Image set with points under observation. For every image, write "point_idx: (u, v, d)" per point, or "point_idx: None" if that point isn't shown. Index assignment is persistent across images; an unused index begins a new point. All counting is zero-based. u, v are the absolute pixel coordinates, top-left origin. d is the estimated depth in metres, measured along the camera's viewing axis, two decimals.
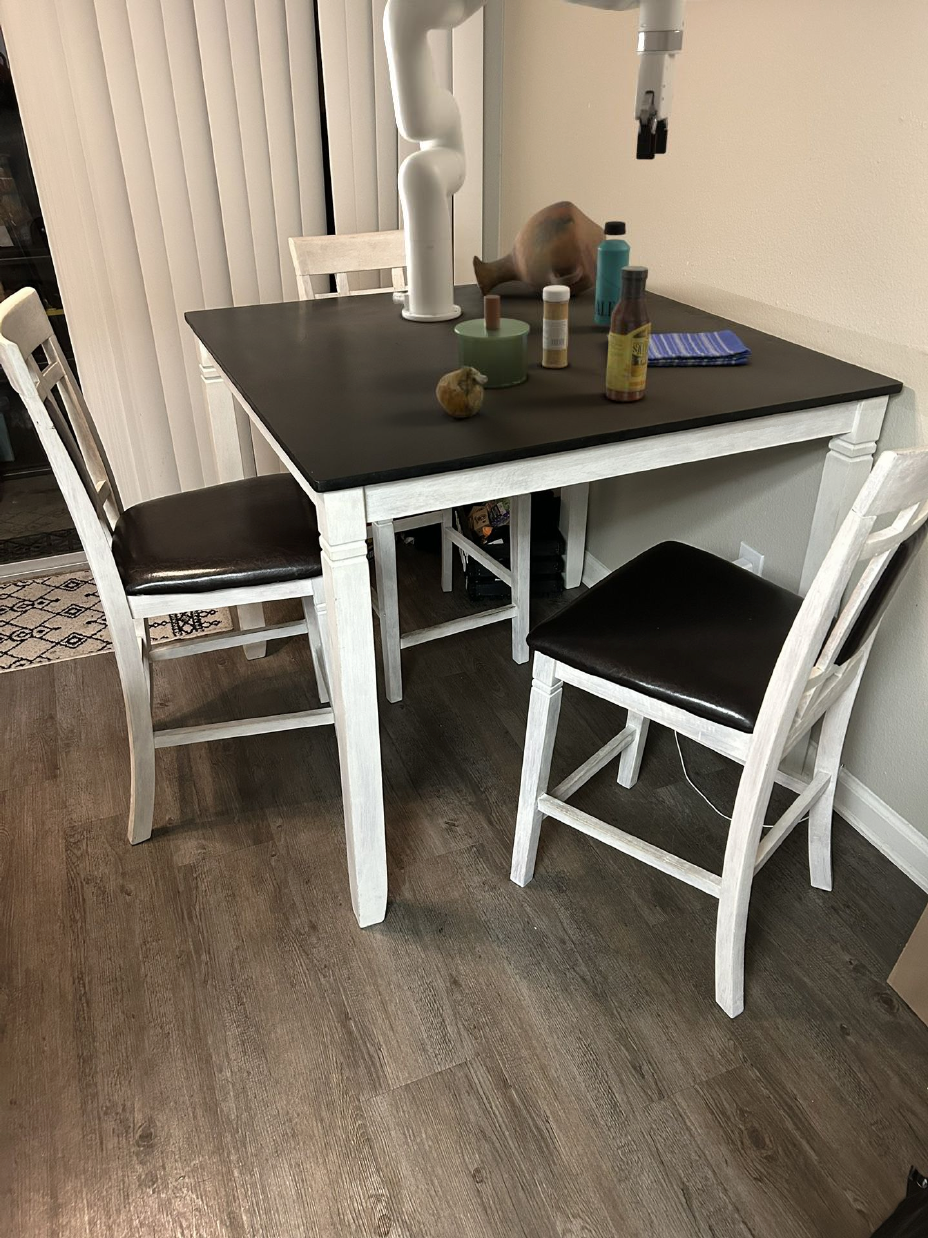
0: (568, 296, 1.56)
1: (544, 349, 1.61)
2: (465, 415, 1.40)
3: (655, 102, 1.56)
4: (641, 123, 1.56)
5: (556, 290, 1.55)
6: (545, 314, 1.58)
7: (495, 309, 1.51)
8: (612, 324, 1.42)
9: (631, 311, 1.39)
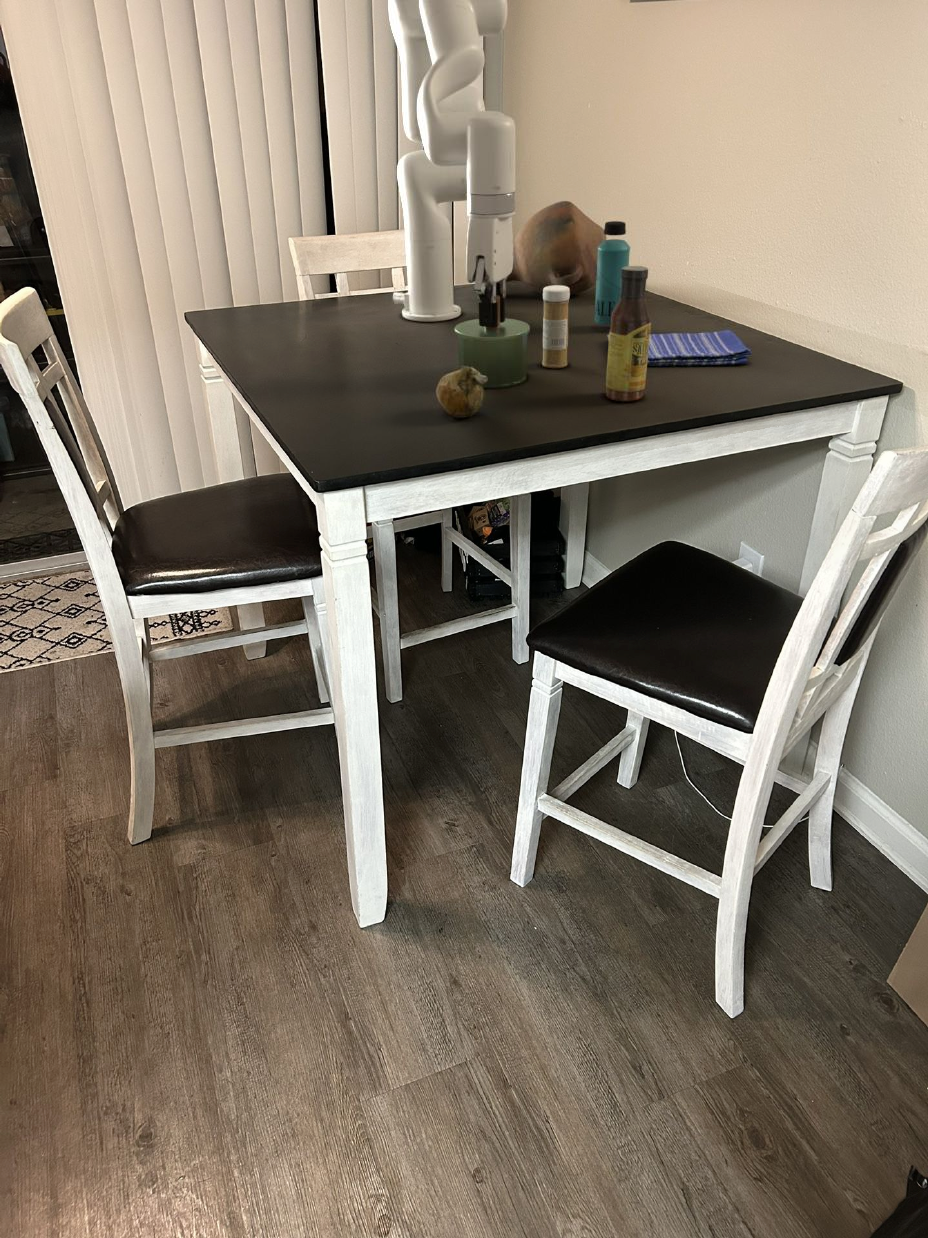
0: (568, 296, 1.56)
1: (544, 349, 1.61)
2: (465, 415, 1.40)
3: (486, 267, 1.44)
4: (479, 294, 1.47)
5: (556, 290, 1.55)
6: (545, 314, 1.58)
7: None
8: (612, 324, 1.42)
9: (631, 311, 1.39)
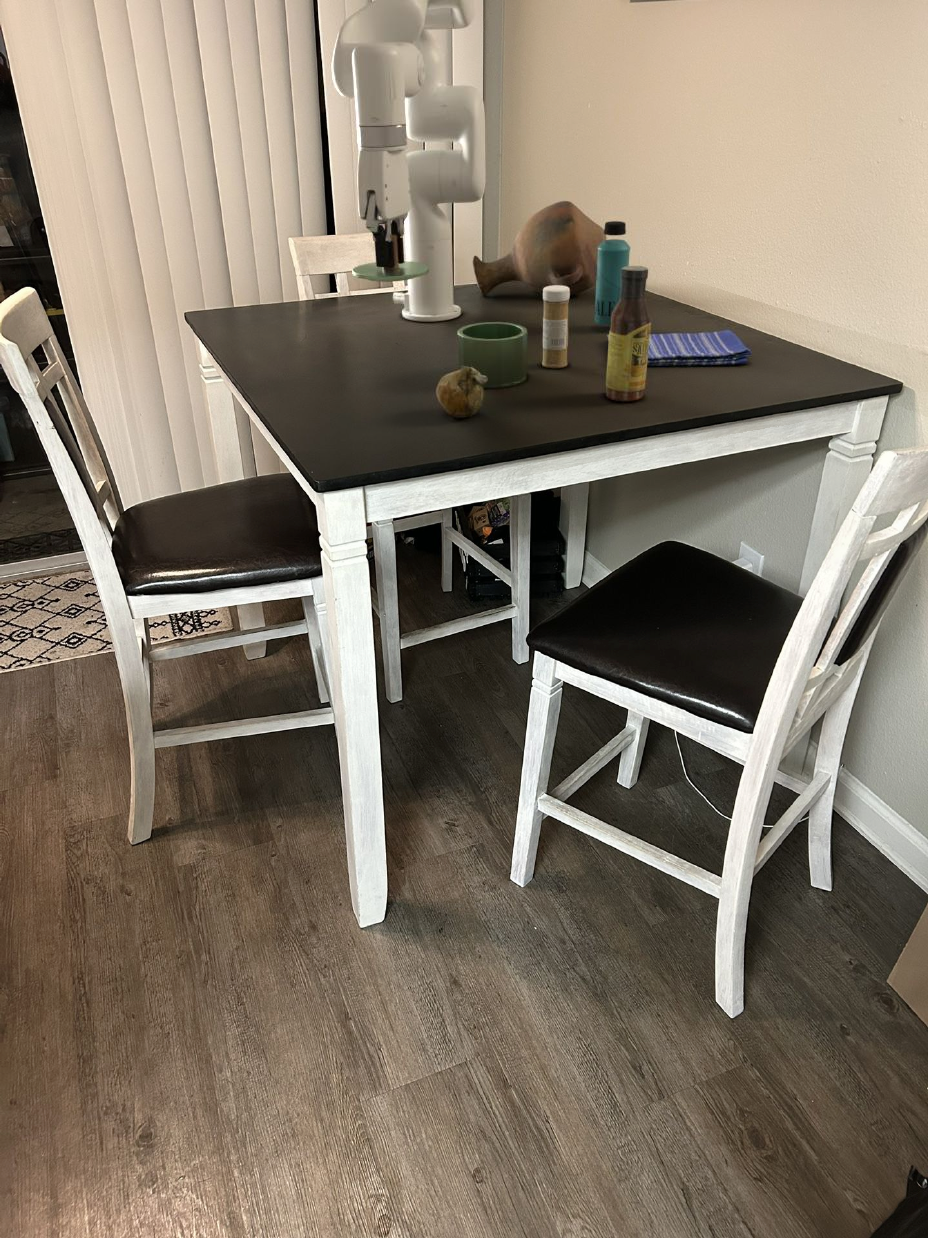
0: (568, 296, 1.56)
1: (544, 349, 1.61)
2: (465, 415, 1.40)
3: (378, 203, 1.40)
4: (372, 231, 1.44)
5: (556, 290, 1.55)
6: (545, 314, 1.58)
7: None
8: (612, 324, 1.42)
9: (631, 311, 1.39)
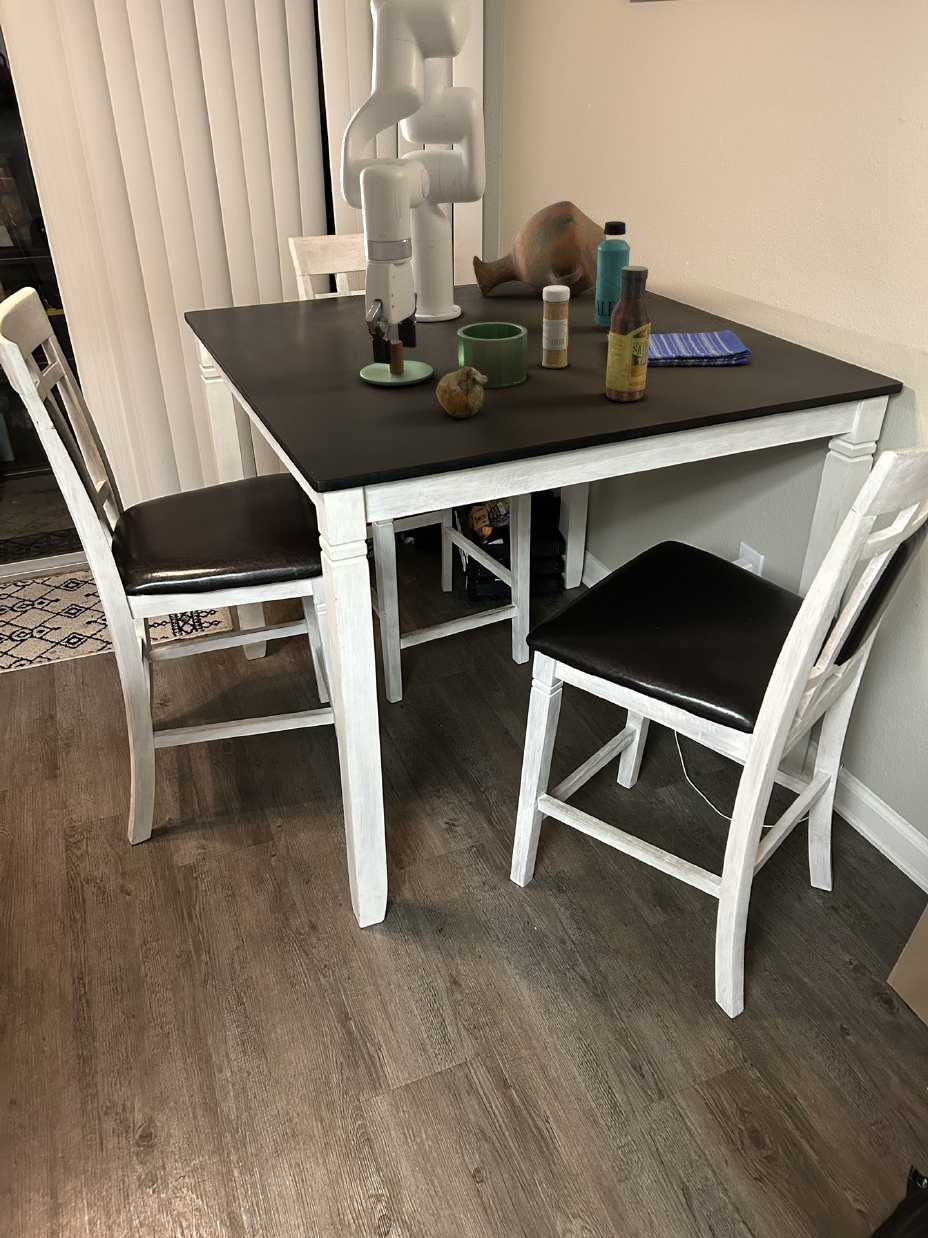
0: (568, 296, 1.56)
1: (544, 349, 1.61)
2: (465, 415, 1.40)
3: (384, 310, 1.49)
4: (370, 332, 1.49)
5: (556, 290, 1.55)
6: (545, 314, 1.58)
7: (397, 354, 1.57)
8: (612, 324, 1.42)
9: (631, 311, 1.39)
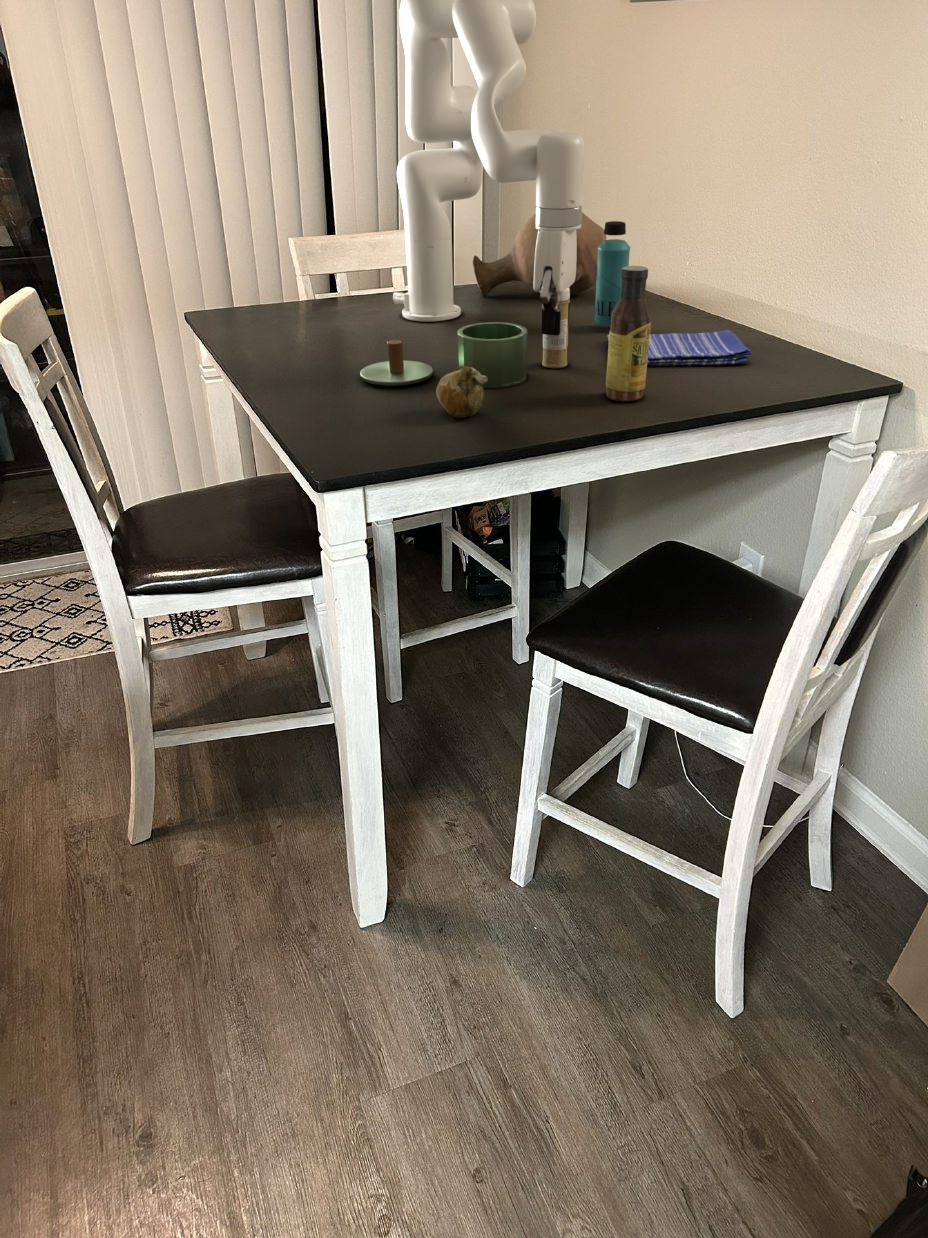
0: (568, 296, 1.56)
1: (544, 349, 1.61)
2: (465, 415, 1.40)
3: (554, 278, 1.51)
4: (543, 303, 1.53)
5: None
6: None
7: (397, 354, 1.57)
8: (612, 324, 1.42)
9: (631, 311, 1.39)
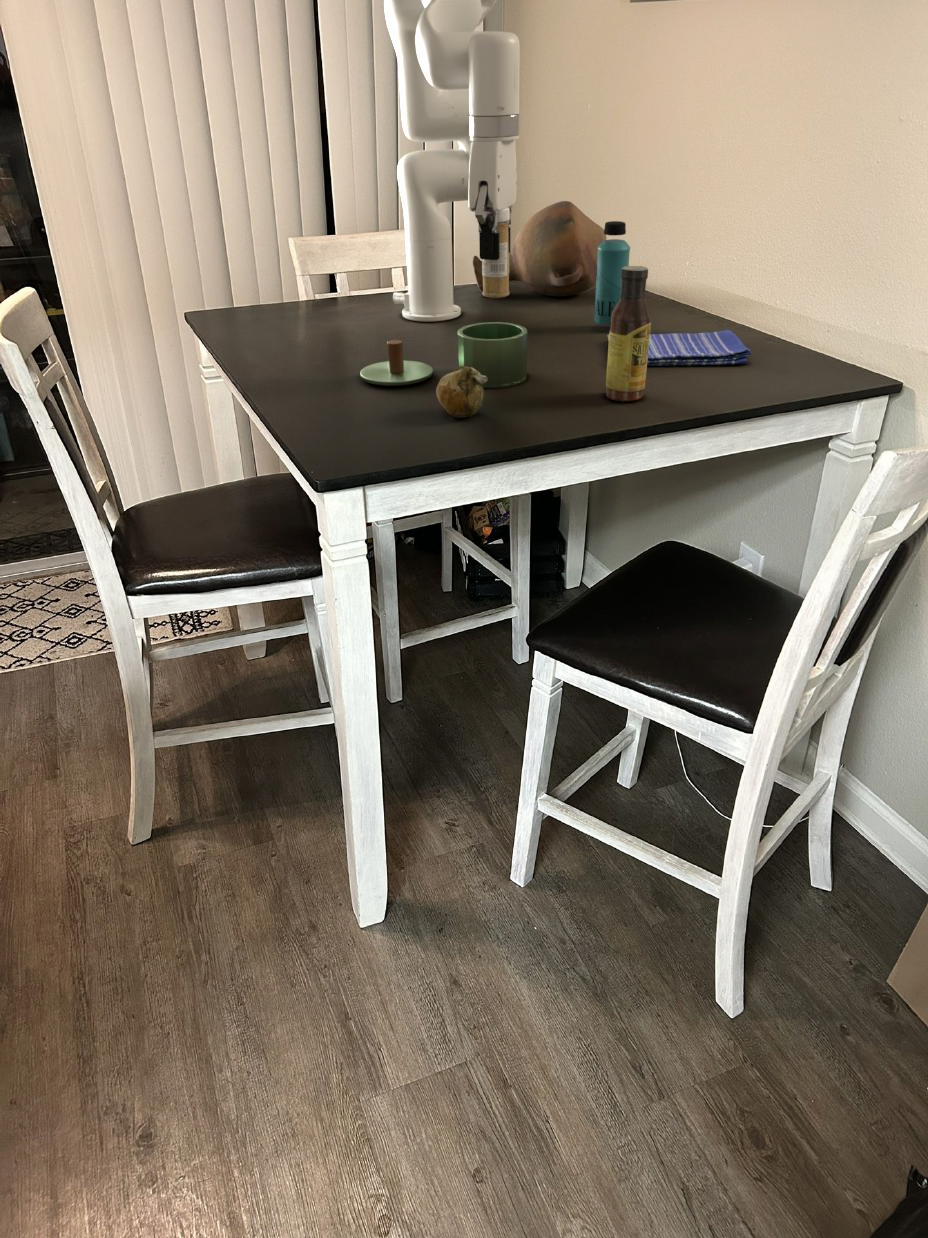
0: (507, 217, 1.44)
1: (484, 277, 1.49)
2: (465, 415, 1.40)
3: (489, 194, 1.39)
4: (480, 223, 1.41)
5: None
6: None
7: (397, 354, 1.57)
8: (612, 324, 1.42)
9: (631, 311, 1.39)
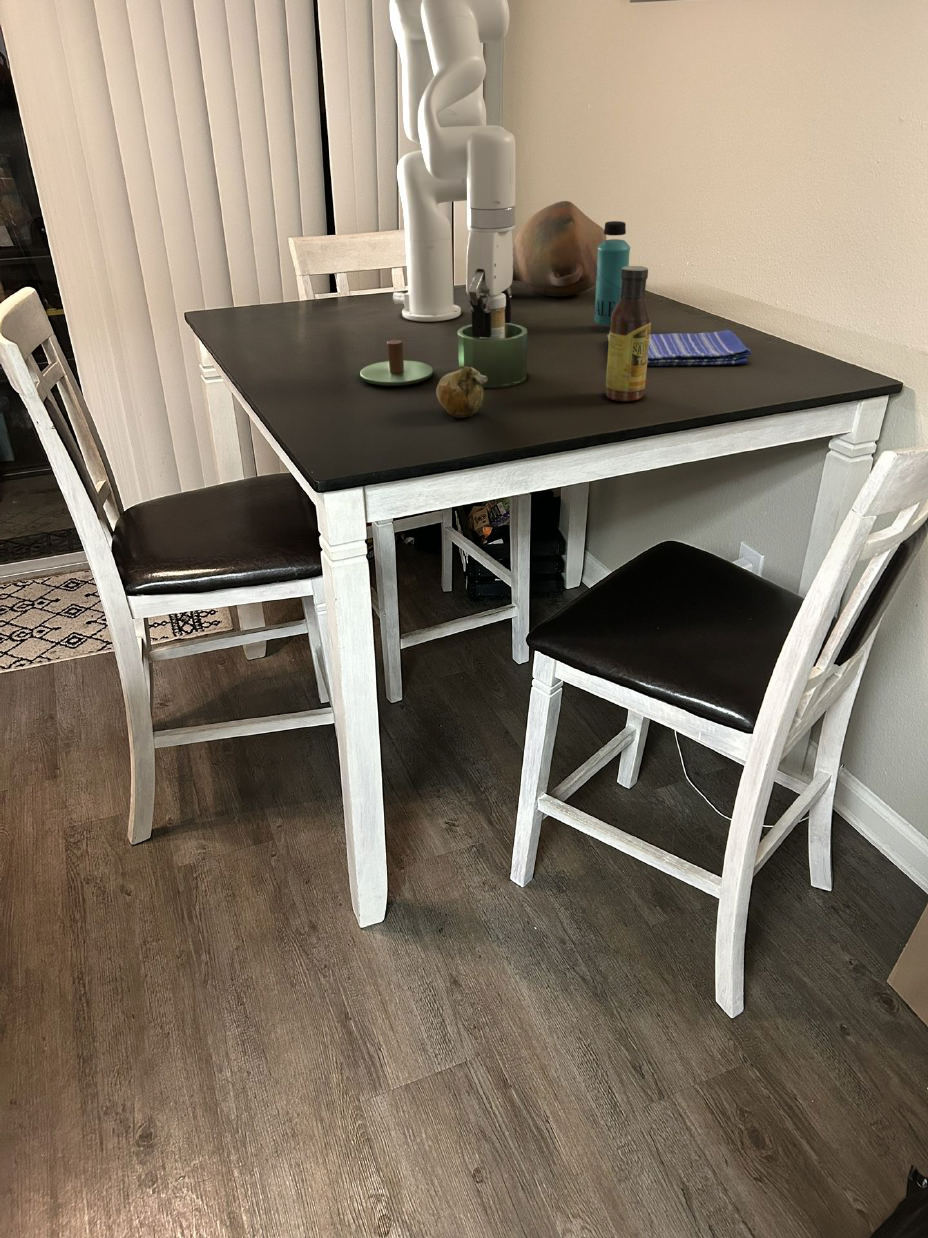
0: (504, 303, 1.51)
1: None
2: (465, 415, 1.40)
3: (486, 281, 1.45)
4: (472, 304, 1.46)
5: None
6: None
7: (397, 354, 1.57)
8: (612, 324, 1.42)
9: (631, 311, 1.39)
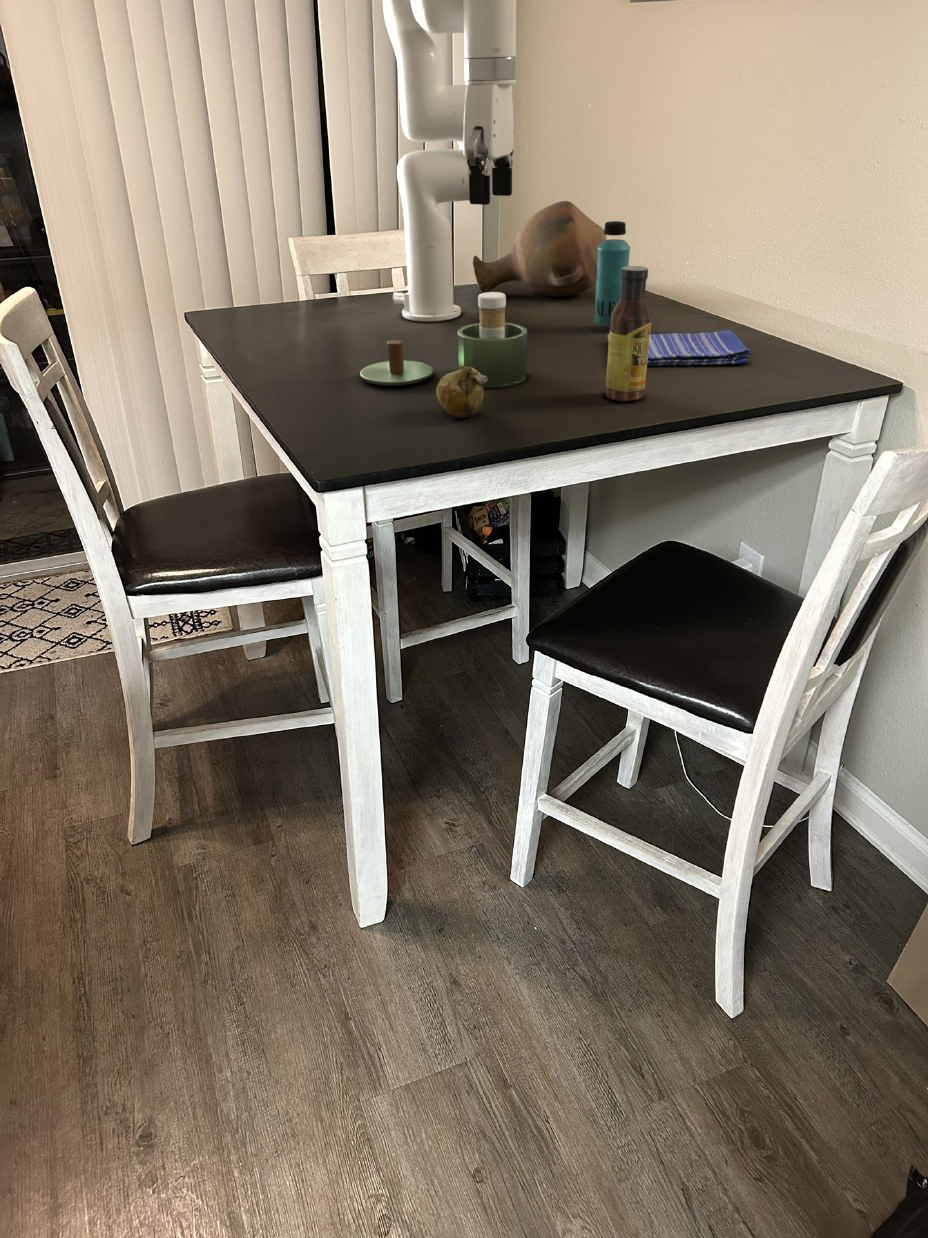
0: (504, 303, 1.51)
1: None
2: (465, 415, 1.40)
3: (485, 139, 1.35)
4: (469, 164, 1.35)
5: (491, 297, 1.50)
6: (481, 322, 1.53)
7: (397, 354, 1.57)
8: (612, 324, 1.42)
9: (631, 311, 1.39)
